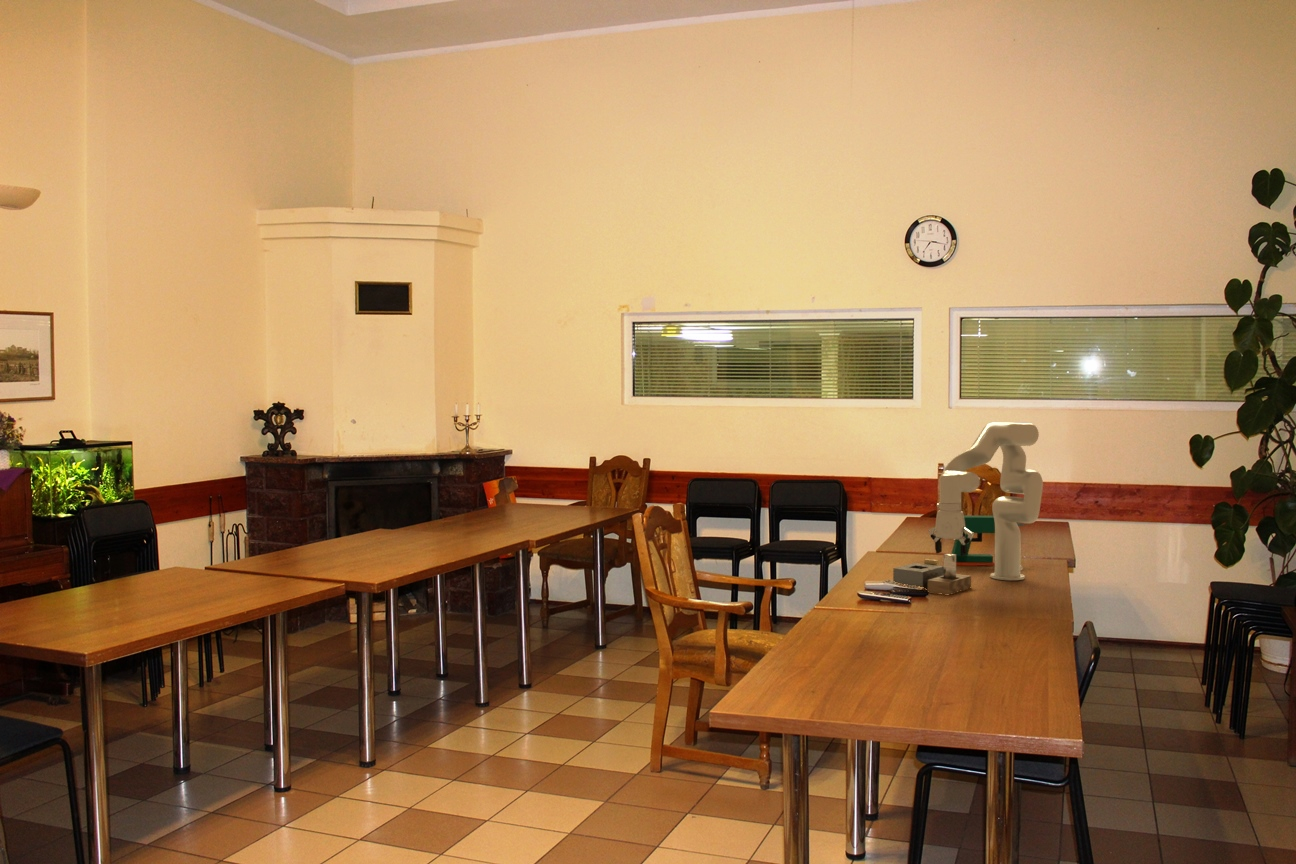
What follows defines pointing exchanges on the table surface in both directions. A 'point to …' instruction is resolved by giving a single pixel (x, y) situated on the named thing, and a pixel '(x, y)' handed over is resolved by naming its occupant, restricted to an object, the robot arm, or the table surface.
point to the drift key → (931, 562)
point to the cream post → (949, 566)
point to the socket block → (917, 574)
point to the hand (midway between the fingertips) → (951, 554)
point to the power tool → (975, 540)
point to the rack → (949, 584)
